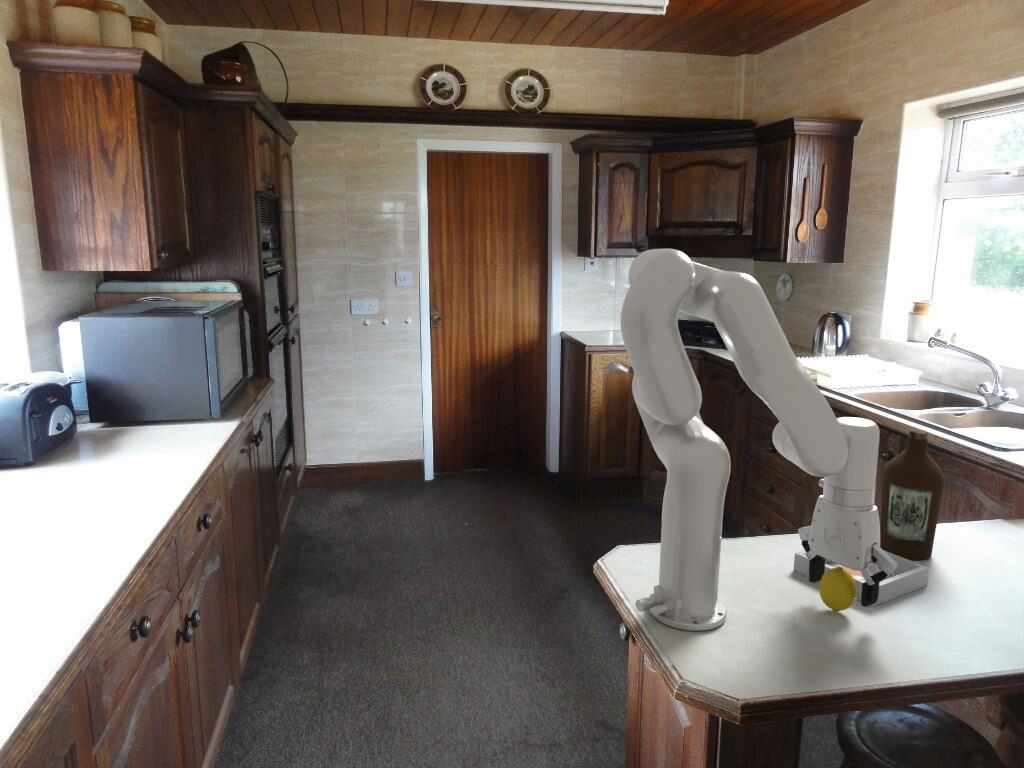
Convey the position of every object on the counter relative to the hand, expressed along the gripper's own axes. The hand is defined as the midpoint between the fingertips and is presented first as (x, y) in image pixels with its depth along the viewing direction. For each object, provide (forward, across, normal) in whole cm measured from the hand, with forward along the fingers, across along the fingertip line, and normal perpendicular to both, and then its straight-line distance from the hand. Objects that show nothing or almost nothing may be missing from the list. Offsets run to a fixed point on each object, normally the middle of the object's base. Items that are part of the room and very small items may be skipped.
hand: (841, 592), depth 117 cm
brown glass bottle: (+4, -9, +33) cm, 35 cm away
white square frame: (+4, -6, +14) cm, 16 cm away
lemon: (+4, 0, -1) cm, 4 cm away
